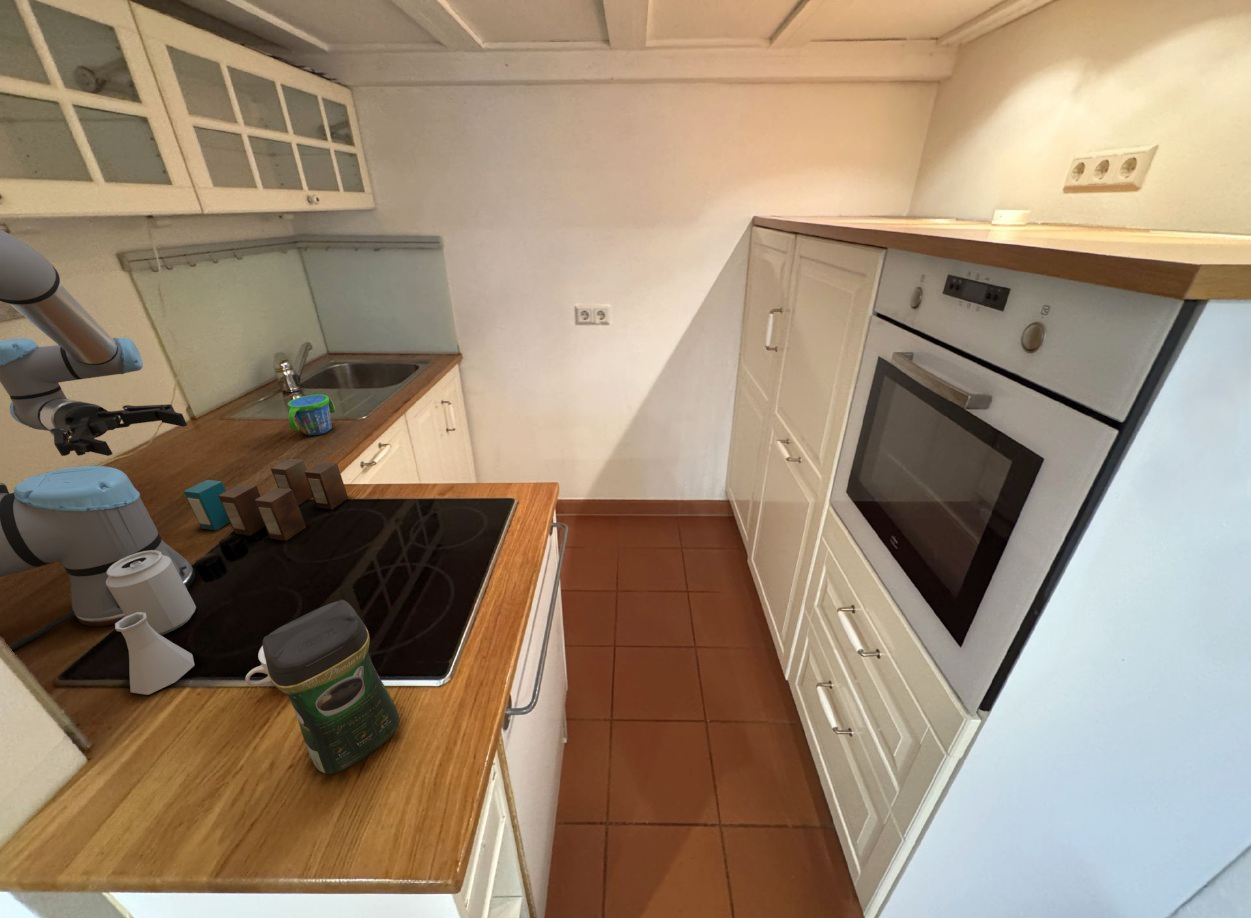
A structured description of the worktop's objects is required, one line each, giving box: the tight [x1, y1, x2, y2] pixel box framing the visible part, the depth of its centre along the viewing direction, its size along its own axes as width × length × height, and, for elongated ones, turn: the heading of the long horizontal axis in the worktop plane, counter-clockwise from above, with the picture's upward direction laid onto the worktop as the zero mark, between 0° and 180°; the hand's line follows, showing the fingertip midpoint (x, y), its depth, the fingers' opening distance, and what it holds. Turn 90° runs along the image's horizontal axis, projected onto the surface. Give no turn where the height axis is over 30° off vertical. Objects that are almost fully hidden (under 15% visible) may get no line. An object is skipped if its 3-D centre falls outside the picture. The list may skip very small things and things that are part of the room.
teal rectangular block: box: [183, 479, 231, 531], centre depth 104 cm, size 5×4×9 cm
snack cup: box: [287, 394, 336, 437], centre depth 149 cm, size 16×10×10 cm
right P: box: [305, 461, 349, 510], centre depth 110 cm, size 5×4×9 cm
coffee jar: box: [262, 599, 400, 775], centre depth 57 cm, size 10×8×19 cm
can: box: [106, 550, 197, 636], centre depth 77 cm, size 8×8×12 cm
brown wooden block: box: [254, 487, 307, 542], centre depth 100 cm, size 5×4×9 cm
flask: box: [114, 612, 195, 696], centre depth 68 cm, size 7×7×10 cm
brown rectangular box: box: [270, 458, 313, 506], centre depth 112 cm, size 5×4×9 cm
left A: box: [218, 483, 266, 536], centre depth 102 cm, size 5×4×9 cm
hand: (147, 433), depth 100 cm, fingers open, 13 cm apart
